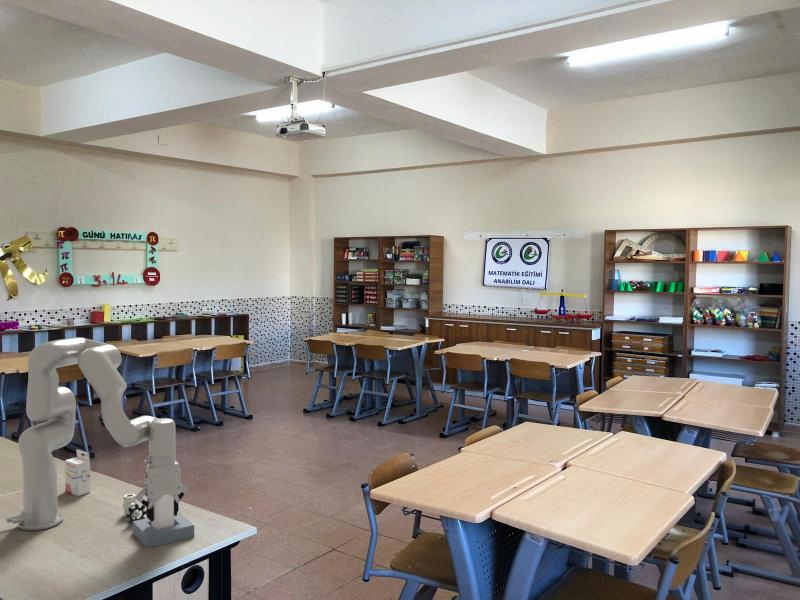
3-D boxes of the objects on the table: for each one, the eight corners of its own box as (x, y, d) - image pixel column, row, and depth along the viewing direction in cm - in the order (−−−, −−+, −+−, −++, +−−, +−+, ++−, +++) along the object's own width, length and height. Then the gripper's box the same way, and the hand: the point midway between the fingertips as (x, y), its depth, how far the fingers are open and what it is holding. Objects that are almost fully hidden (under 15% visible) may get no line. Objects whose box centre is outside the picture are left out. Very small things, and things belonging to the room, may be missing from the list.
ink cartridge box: (64, 491, 237) (63, 451, 236) (77, 488, 241) (77, 448, 240) (78, 496, 232) (77, 455, 231) (91, 492, 236) (90, 452, 235)
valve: (117, 515, 215) (126, 527, 206) (117, 495, 215) (126, 506, 205) (138, 511, 219) (148, 522, 209) (138, 491, 219) (147, 502, 209)
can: (152, 534, 196) (152, 495, 195) (150, 526, 201) (150, 488, 201) (175, 530, 199) (175, 492, 198) (172, 523, 204) (172, 485, 204)
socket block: (147, 548, 190) (147, 536, 190) (132, 532, 201) (132, 521, 201) (194, 536, 199) (194, 524, 199) (178, 521, 210) (177, 511, 210)
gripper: (137, 468, 191) (137, 528, 191) (194, 457, 201) (194, 514, 202) (129, 461, 196) (129, 520, 197) (186, 452, 207) (186, 507, 208)
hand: (162, 516), depth 200 cm, fingers closed on can, 6 cm apart
